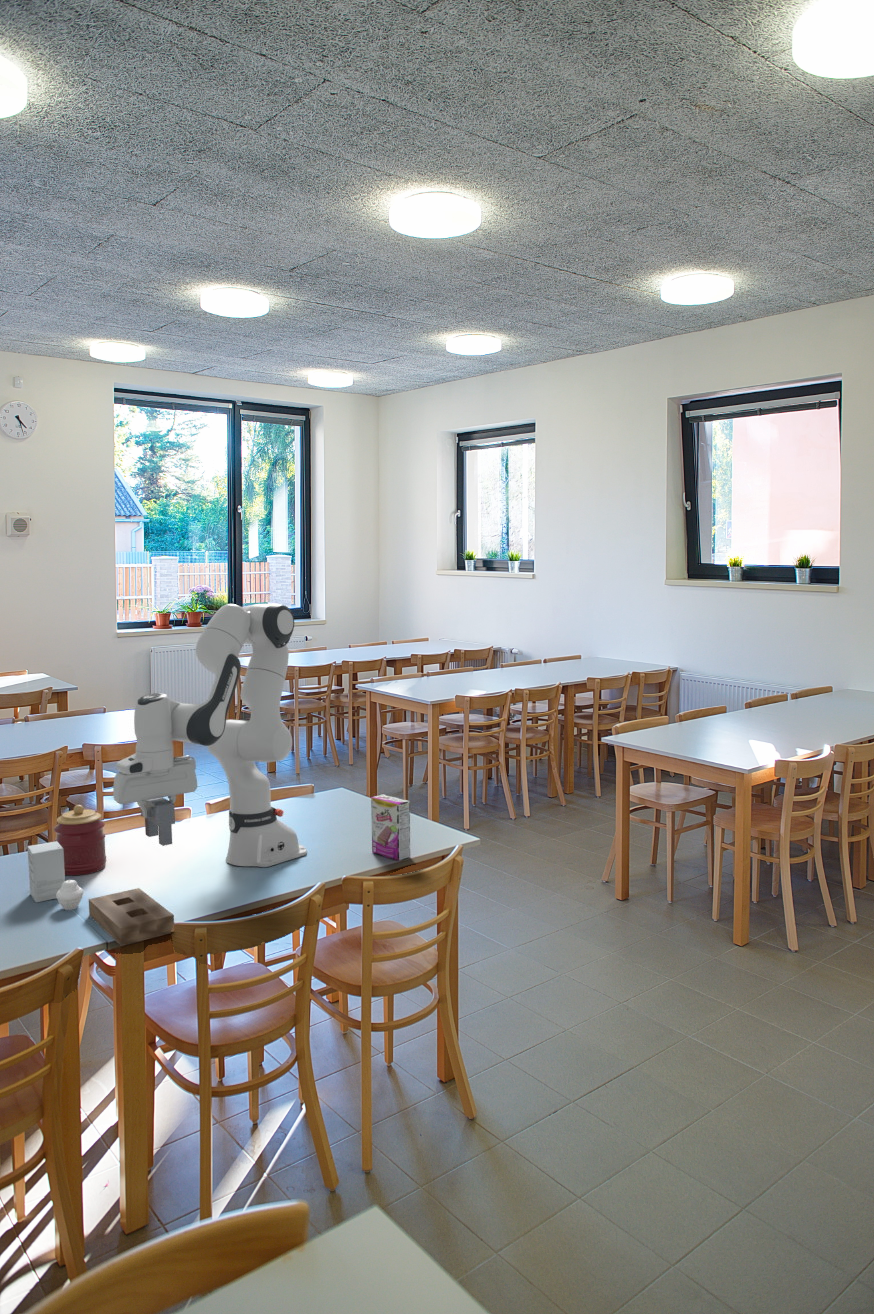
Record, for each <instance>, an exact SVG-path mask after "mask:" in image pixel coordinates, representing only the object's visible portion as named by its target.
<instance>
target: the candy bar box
mask: <svg viewBox="0 0 874 1314" xmlns="http://www.w3.org/2000/svg"><path fill="white" fill-rule="evenodd" d="M370 798H371V800H370V802H371V850H372V851H371V852H372V854H376V855H379V856H382V857H385V858H389V859H392V860H395V861H397V862H400V861H403V860H406V859H409V858H411V809H410V808H411V807H410V806H411V805H410V803H411V802H410V800H407V799H403V798H399V797H395V796H391V795H387V794H384V793H383V794H382V793H381V794H378V795H375V796H371V797H370Z"/></svg>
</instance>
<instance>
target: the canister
mask: <svg viewBox="0 0 874 1314" xmlns="http://www.w3.org/2000/svg"><path fill="white" fill-rule="evenodd" d="M72 809H73V810H68V811H66V812H63V813H62V814H61V815H60V816H58V817H57V819H56V822H57V825H55V826H54V827H53V832H55V839H54V841H53V842H55V841H57V842H58V843H59V844H60V845H61V847H62V848H63V851H64V869H65V876H81V875H89V874H93V873H96V872H99V871H101V870H103V869H104V868H105V867H106V864H107V855H106V834H105V832H104V827H105V824H106V823H105V822H104V821H103V820H101V818H102V813H100V812H97V811H95V810H94V809H89V808H84V806H83V805H82V804H76V805H74V807H73V808H72Z"/></svg>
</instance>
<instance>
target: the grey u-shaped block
mask: <svg viewBox="0 0 874 1314" xmlns="http://www.w3.org/2000/svg"><path fill="white" fill-rule="evenodd" d="M144 806H145V808H146V809H149V810H151V817H148V818H144V817H143V813H142V809H141V808H140V815H141V817H142V818H144V826H145V827H144V828H145V830H144V831H145V836H147V837H149V838H152V837H157V836H158V844H160V845H161V846H162V847H164V846H169V845H170V846H171V845H173V832H172V831H173V829H172V828H173V827H172V825H175V824H176V813H175V812H176V811H175V803H172V802H170V801H169V799H168V798H166V797H161V798H156V799H150V800H146V805H144Z"/></svg>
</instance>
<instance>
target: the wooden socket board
mask: <svg viewBox="0 0 874 1314" xmlns="http://www.w3.org/2000/svg"><path fill="white" fill-rule="evenodd" d="M88 913H89V917H90V918H91V919H92V920H93V919H94V920H93V921H94V922H95V921H96V923H97V924H98V926H100V927H101V928H102V929H103V931H105V933H107V934H108V935H109V937H110V938H112V939H113V940H114V941H115V942H116V943H117V944H119V945H120V946H121V947H122V946H126V945H130V944H134V943H137V942H142V941H146V940H150V939H153V938H158V937H162V936H166V935H168V934H172V933H171V930H172V927H173V925H174V926H175V915H174V914H173V913H172V912H170V910H168V909H166V907H164V906H163V905H161V904H160V903H159V902H157V901H156V900H155V899H154V898H152V896H150V895H149V894H147V893H146V892H145V891H143V890H142V889H141V888H140V887H136V888H132V889H128V890H123V891H119V892H116V893H110V894H106V895H101V896H98V897H93V898H88Z"/></svg>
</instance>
